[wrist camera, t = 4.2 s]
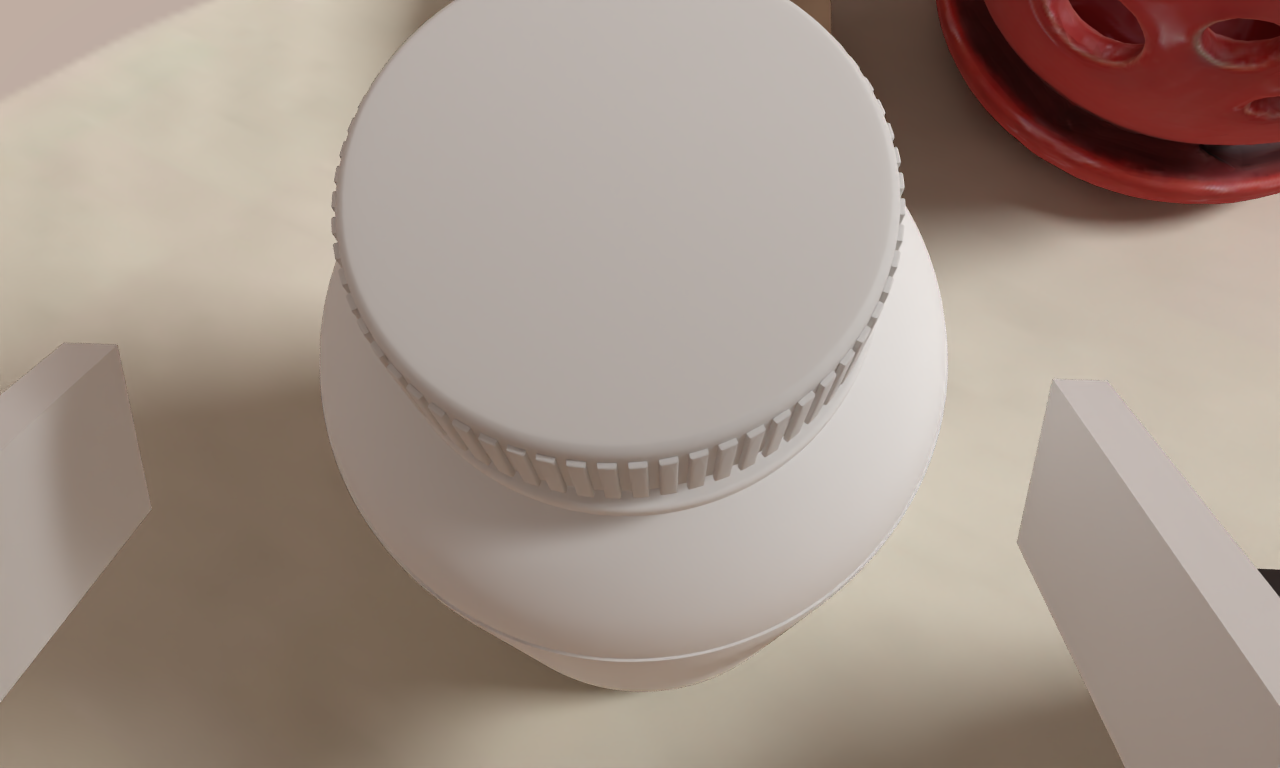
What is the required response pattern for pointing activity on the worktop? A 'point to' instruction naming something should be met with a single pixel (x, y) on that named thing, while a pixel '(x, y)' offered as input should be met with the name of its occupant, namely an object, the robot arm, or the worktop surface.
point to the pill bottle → (629, 327)
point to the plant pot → (1132, 89)
